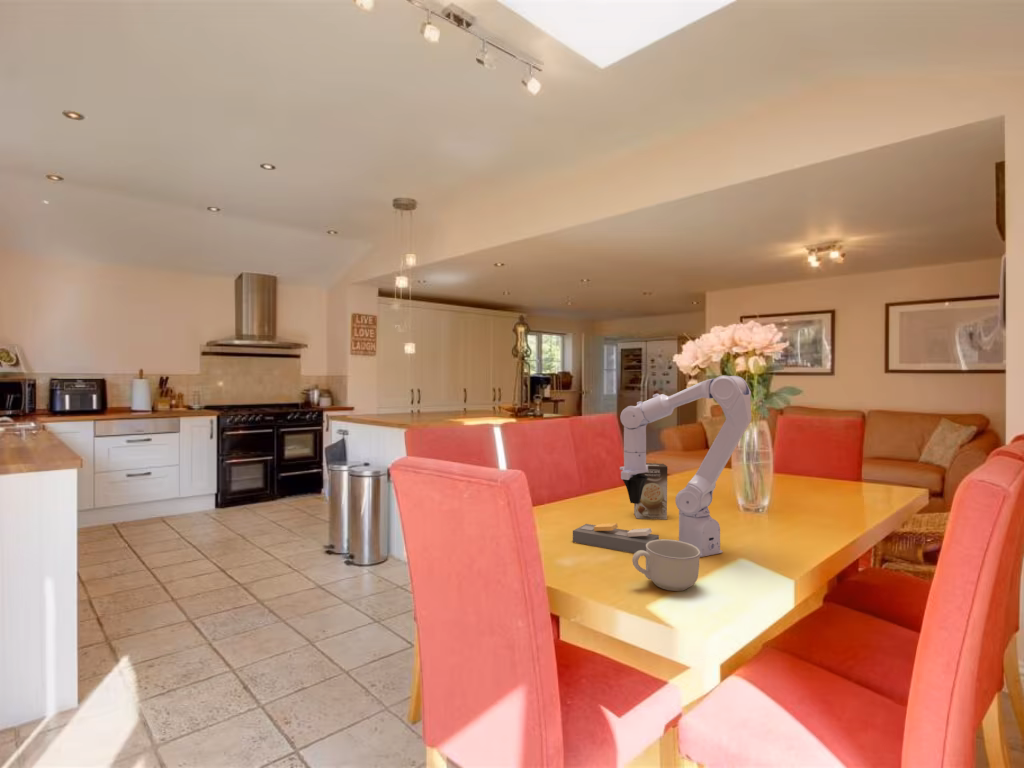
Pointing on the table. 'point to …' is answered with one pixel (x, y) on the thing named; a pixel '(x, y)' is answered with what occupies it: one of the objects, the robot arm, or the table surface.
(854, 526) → the table surface
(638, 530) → the beige rectangular slab
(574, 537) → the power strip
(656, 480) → the coffee box
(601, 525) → the block
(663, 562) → the teacup
